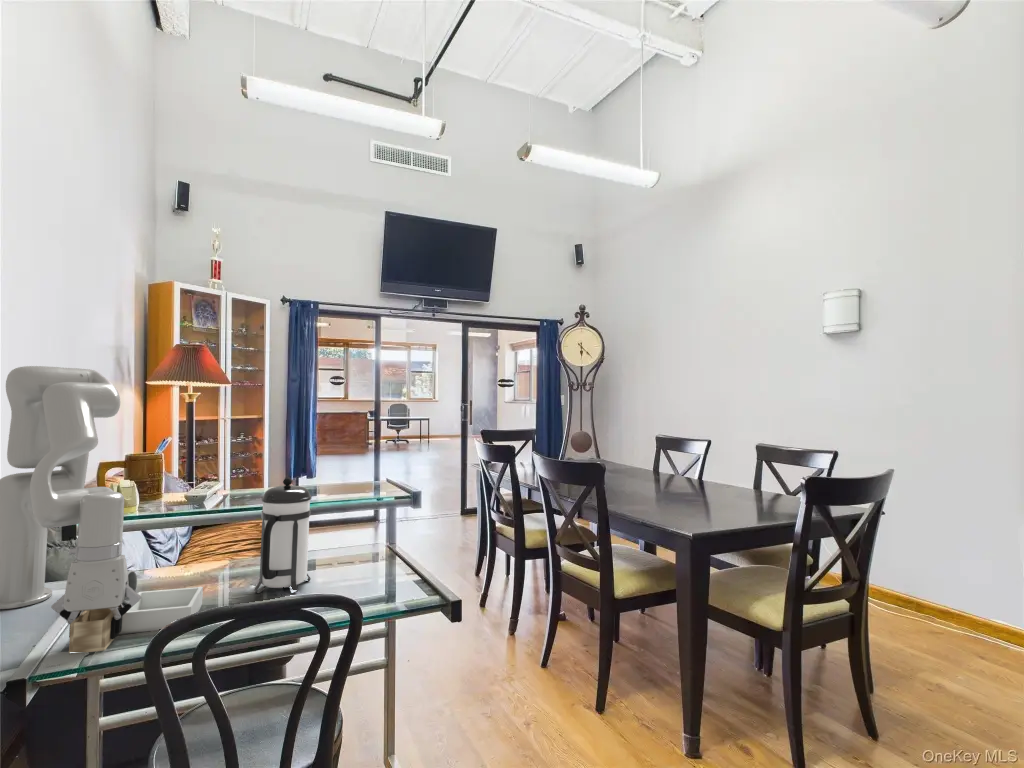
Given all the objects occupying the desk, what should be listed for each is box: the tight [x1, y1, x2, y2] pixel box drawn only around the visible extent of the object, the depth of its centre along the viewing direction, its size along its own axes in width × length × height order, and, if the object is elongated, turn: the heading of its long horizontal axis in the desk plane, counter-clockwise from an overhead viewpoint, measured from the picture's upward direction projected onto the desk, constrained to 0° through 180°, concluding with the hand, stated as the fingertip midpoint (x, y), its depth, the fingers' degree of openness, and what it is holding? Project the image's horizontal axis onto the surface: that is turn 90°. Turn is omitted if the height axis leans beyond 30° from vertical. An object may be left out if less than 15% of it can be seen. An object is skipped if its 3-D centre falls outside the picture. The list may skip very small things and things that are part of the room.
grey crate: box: [118, 586, 204, 635], centre depth 126 cm, size 14×14×4 cm
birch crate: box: [68, 608, 115, 653], centre depth 113 cm, size 6×9×6 cm, turn 20°
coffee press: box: [254, 477, 313, 594], centre depth 148 cm, size 17×16×30 cm
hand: (95, 637), depth 113 cm, fingers closed on birch crate, 6 cm apart
